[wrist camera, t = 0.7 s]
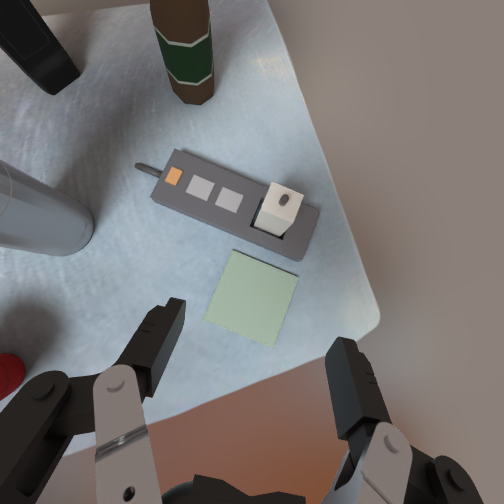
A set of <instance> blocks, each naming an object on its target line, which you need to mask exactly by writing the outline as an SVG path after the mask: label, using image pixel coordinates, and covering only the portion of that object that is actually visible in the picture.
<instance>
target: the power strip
mask: <svg viewBox="0 0 504 504" xmlns="http://www.w3.org/2000/svg"><path fill="white" fill-rule="evenodd" d="M135 168H137V169H139V170H141V171H143V172H146V173H148V174H151V175H153V176H155V177H158V178H159V180H158V182H157V184H156V186H155V188H154V190H153V192H152V194H151V196H150V197H151V198H152V199H153V200H154V202H156V203H158V204H160V205H163V206H165V207H168V208H170V209H172V210H175V211H177V212H180V213H182V214H184V215H187V216H189V217H192V218H194V219H196V220H199V221H201V222H203V223H206V224H208V225H211V226H213V227H215V228H218V229H220V230H223V231H225V232H227V233H230V234H232V235H235V236H237V237H239V238H242V239H244V240H247V241H249V242H251V243H254V244H256V245H259V246H261V247H263V248H266V249H268V250H271V251H273V252H275V253H278V254H280V255H282V256H285V257H287V258H290V259H292V260H294V261H297V262H299V261H302V259H303V257H304V254H305V251H306V249H307V246H308V243H309V240H310V238H311V235H312V232H313V229H314V227H315V224H316V221H317V219H318V216H319V213H320V210H317V209H315V208H313V207H310V206H308V205H306V204H303V203H301V204H300V207H299V209H298V212H297V215H296V217H295V220H294V222H293V224H292V225H291V226H290V227H289V228H288V229H287V230H286V231H285V232H284V233H283V235H282V238H281V239H278V238H276V237H274V236H271V235H269V234H266V233H264V232H262V231H259V230H257V229H255V228H252V227H250V224H251V222H252V220H253V217H254V215H255V213H256V210H257V208H258V205H259V203H263V202H264V200H265V197H266V195H267V192H268V190H269V189H268V188H266V187H264V186H261V185H259V184H257V183H254V182H252V181H250V180H247V179H245V178H243V177H240V176H238V175H236V174H233V173H231V172H229V171H226V170H224V169H222V168H219V167H217V166H215V165H212V164H210V163H208V162H205V161H203V160H201V159H198V158H196V157H194V156H191V155H189V154H187V153H184V152H182V151H180V150H177V149H174V151H173V153H172V155H171V157H170V159H169V161H168V163H167V165H166V166H165V168H164V170H163V172H162V173H161V172H159V171H157V170H154V169H152V168H149V167H147V166H145V165H142V164H140V163H136V164H135Z"/></svg>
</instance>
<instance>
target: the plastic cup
mask: <svg viewBox="0 0 504 504" xmlns="http://www.w3.org/2000/svg"><path fill="white" fill-rule="evenodd" d="M24 374H25V369H24V364H23V362H22V361H21V360H20V358H19V357H17V356H15V355H13V354H0V401H1V400H2V399H4V398H5V397H7V396H8V395H9V394H11V393H12V392H13V391H15V389H16V388H18V387H19V385H20V384H21V382H22V381H23V378H24Z"/></svg>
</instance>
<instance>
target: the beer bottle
mask: <svg viewBox="0 0 504 504" xmlns="http://www.w3.org/2000/svg"><path fill="white" fill-rule="evenodd" d="M150 11H151V16H152V20H153V25H154V28H155V32H156V35H157V39H158V42H159V45H160V49H161V52H162V56H163V59H164V62H165V66H166V69H167V73H168V76H169V80H170V83H171V86H172V88H173V91H174V92H175V93H176V94H177V95H178V96H179V98H180V99H181V100H182V101H183V102H184V103H186V104H195V105H201V104H203V103H204V102H206V101H207V100H209V99H210V98H211V97H212V96H213V88H214V66H213V53H212V39H211V25H210V13H209V6H208V0H150Z"/></svg>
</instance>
